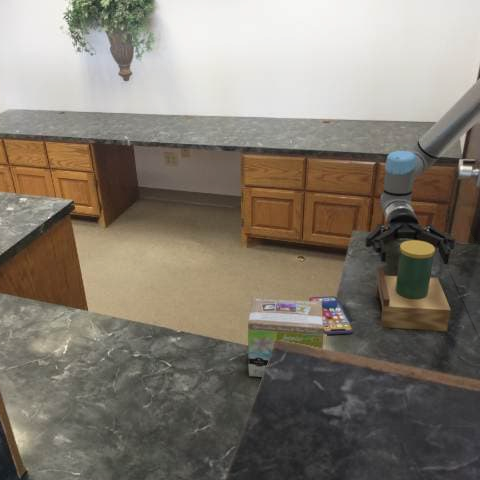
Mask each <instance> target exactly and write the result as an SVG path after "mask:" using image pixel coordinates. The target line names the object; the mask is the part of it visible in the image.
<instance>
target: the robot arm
mask: <svg viewBox="0 0 480 480" xmlns="http://www.w3.org/2000/svg"><path fill="white" fill-rule="evenodd" d="M479 121H480V78H479V79H477V81H476V82H475V83H474V84H473V85H472V86H471V87H470V88H469V89H468V90H466V91H465V93H463V95H462V96H460V98H459V99H458V100H457V101H456V102H455V103H454V104H453V105H452V106H451V107H450V108H449V109H448V110H447V111H446V112H445V113H444V114H443V115H442V116H441V117H440V118H439V119H438V120H437V121H436V122H435V123H434V124H433V126H431V127H430V128H429V130H428V131H426V132H425V134H423V135H422V137H420V138H419V140H418V141H417V142H415V143H414V144H413V146H411V148H409V150H408V151H407V150H396V151H392V152H390V153H388V154H387V157H386V162H385V166H384V169H385V170H384V180H383V191H382V195H380V198H379V199H380V201H379V205H380V208H381V212H382V214H383V216H384V220H385V223H386V226H384V225H382V223H376V227H375V228H374V229H373V230H372V231H371V232H370V233H369V234H368V235H367V236H366V237H365V247H367V248H370V247H373V248H372V250H373V252H375V253H376V254H377V253H378V254H379V257H380V261H381V262H382V263H385V262H386V257H387V249H386V246H385V245H387V244H389V243H390V242H395V241H396V240H405V239H406V240H407V239H408V240H418V241H424V242H427V243H430V244H431V245H433V246H434V248H435V249H436V248H437V249H438V253H439V256H440V259H441V260H442V262H443V264H444V265H449V259H450V254H451V250H454V249H455V245H456V239H455V238H454V237H453V236H451V235H449V234H447V233H445V232H443V231H442V230H440V229H438V228H436V227H435V225H434V224H431V223H429V224H428V225H427V226H426V227H425V226H424V227H423V226H422V225H421V224H420V223H419V220H418V218H417V215H416V213H415V211H414V209H413V205H412V197H413V189H414V183H415V182H414V181H415V180H416V179H417V178H418V177H419V176H421V175H422V174H423V173H424V172H426V171H427V170H429V169H430V168H431V167H432V166H433V165H434V164H435V162H437V161H438V160H439V159H440V157H441V156H442V155H444V154H445V153H446V152H447V151H448V150H449V149H450V148H451V147H452V146H454V144H456V143H457V142H458V140H460V139H461V138H462V137H463V136H464V135H465V134H466V133H467V132H468V131H470V129H472V127H473V126H475V125H476V124H477V123H478V122H479Z"/></svg>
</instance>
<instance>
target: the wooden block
mask: <svg viewBox="0 0 480 480" xmlns="http://www.w3.org/2000/svg"><path fill="white" fill-rule="evenodd" d="M376 274H377V275H376V283H375V291H374V292H375V293H374V295H375V296H374V297H375V299H380V303H381V315H380V317H381V318H380V327H381V328H391V329H406V330H418V331H419V330H420V331H421V330H422V331H434V332H435V331H436V332H448V328H449V323H450V318H451V317H450V316H451V311H452V309H451V307H450V305H449V302H448V299H447V297H446V295H445V292H444V290H443V286H442V284H441V282H440V280H439V278H438V277H430V282H429V289H428V295H427V296H426V297H425V298H422V299H408V298H405V297H402V296H400V295H399V294H398V293H397V292H396V290H395V289H396V281H397V275H385V272H384V269H383V268H377V272H376Z"/></svg>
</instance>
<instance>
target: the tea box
mask: <svg viewBox="0 0 480 480" xmlns="http://www.w3.org/2000/svg"><path fill="white" fill-rule="evenodd" d="M323 332H324V328H323V314H322V301H309V300H306V299H305V300H304V299H287V298H270V297H269V298H268V297H251V301H250V309H249V315H248V323H247V348H248V349H247V353H248V355H247V356H248V357H247V361H248V363H247V364H248V377H256V378H263V377H262V375H263V372H264V369H265V367H266V365H267V363H268V359H269V357H270V355H271V350H272V347H273V342H274V341H275V340H284V341H289V342H295V343H300V344H305V345H310V346H314V347H319V348H322V349H323V344H324V333H323Z"/></svg>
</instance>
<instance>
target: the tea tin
mask: <svg viewBox="0 0 480 480" xmlns="http://www.w3.org/2000/svg"><path fill="white" fill-rule="evenodd" d="M435 251H436V247H434V246H433V245H431V244H430V243H427V242H424V241H418V240H413V239H409V240H405V241H403V242H402V243H400V245H399V255H398V265H397V271H396V272H397V274H396V276H397V281H396V289H395V290H396V292H397V293H398V294H399V295H400V296H402V297H405V298H408V299H422V298H425V297H426V296H427V295H428V289H429V282H430V278H431V276H432V275H431V274H432V268H433V262H434V256H435V253H436V252H435Z"/></svg>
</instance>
